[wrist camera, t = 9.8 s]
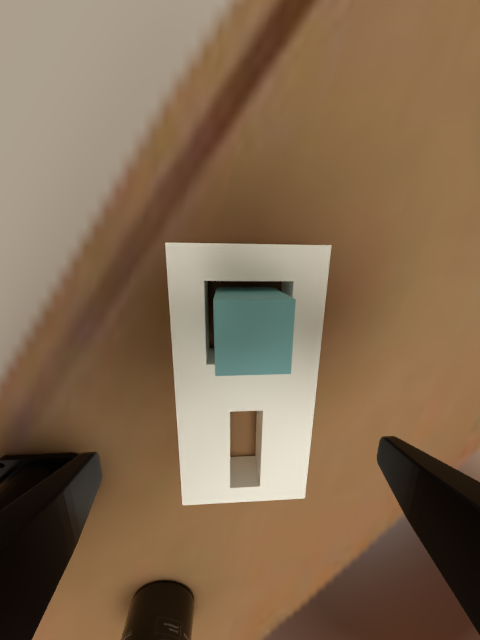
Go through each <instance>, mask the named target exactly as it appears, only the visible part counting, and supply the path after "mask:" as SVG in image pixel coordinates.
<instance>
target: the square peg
mask: <svg viewBox="0 0 480 640" xmlns="http://www.w3.org/2000/svg"><path fill="white" fill-rule="evenodd" d="M295 303H296V299H294V298H292V297H291V296H289V295H287V294H285V293H283V292H281V291H279V290H277V289H275V288H274V287H217V289H216V292H215V296H214V299H213V310H214V350H215V376H236V375H272V374H291V365H292V349H293V334H294V319H295Z"/></svg>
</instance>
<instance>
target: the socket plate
mask: <svg viewBox="0 0 480 640" xmlns="http://www.w3.org/2000/svg"><path fill="white" fill-rule="evenodd" d="M165 248H166V263H167V278H168V293H169V308H170V323H171V338H172V353H173V368H174V383H175V398H176V413H177V429H178V444H179V459H180V474H181V489H182V504H183V505H196V504H214V503H232V502H249V501H267V500H285V499H303V498H305V492H306V482H307V473H308V463H309V454H310V444H311V435H312V425H313V416H314V406H315V397H316V387H317V378H318V368H319V358H320V349H321V339H322V330H323V320H324V311H325V301H326V292H327V282H328V273H329V263H330V254H331V245H281V244H221V243H165ZM208 281H282V289H281V292H283V293H285V294H287V295H289V296H291V297H292V298H294V299H296V303H295V319H294V334H293V349H292V365H291V374H272V375H236V376H215V350H214V348H209V311H208ZM233 411H257V416H256V446H255V456H238V457H230V412H233Z"/></svg>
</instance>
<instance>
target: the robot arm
mask: <svg viewBox="0 0 480 640" xmlns="http://www.w3.org/2000/svg"><path fill="white" fill-rule="evenodd" d="M377 462H378V465H379V467H380V469H381V471H382V473H383V474H384V476H385V478H386V480H387V482H388V484H389V486H390V488H391V490H392V492H393V493H394V495H395V497H396V499H397V501H398V503H399V505H400V507H401V509H402V510H403V512H404V514H405V516H406V518H407V519H408V521H409V523H410V524H411V526H412V527H413V529H414V531H415V533H416V534H417V536H418V537H419V539H420V541H421V542H422V544H423V545H424V547H425V549H426V550H427V552H428V553H429V555H430V557H431V558H432V560H433V561H434V563H435V565H436V566H437V568H438V569H439V571H440V572H441V574H442V576H443V577H444V579H445V581H446V582H447V584H448V585H449V587H450V589H451V590H452V592H453V593H454V595H455V597H456V598H457V600H458V601H459V603H460V604H461V606H462V608H463V609H464V611H465V613H466V614H467V616H468V617H469V619H470V621H471V622H472V624H473V625H474V627H475V628H476V630H477V632H478V633H479V635H480V482H478V481H477V480H474V479H473V478H471V477H469V476H467V475H465V474H463V473H462V472H460V471H458V470H456V469H454V468H452V467H451V466H449V465H447V464H445V463H443V462H441V461H440V460H438V459H436V458H434V457H432V456H430V455H428V454H427V453H425V452H423V451H421V450H419V449H417V448H415V447H414V446H412V445H410V444H408V443H406V442H404V441H402V440H401V439H399V438H397V437H394V436H384V437H381V439H380V441H379V447H378V453H377ZM101 480H102V469H101V464H100V458H99V454H98V453H97V452H84V453H81V454H80V455H78V456H77V455H76V454H54V455H29V456H5V457H1V458H0V640H32V638H33V636H34V634H35V632H36V629H37V627H38V625H39V623H40V621H41V619H42V617H43V615H44V613H45V611H46V609H47V606H48V604H49V602H50V600H51V598H52V596H53V594H54V592H55V590H56V588H57V585H58V583H59V581H60V579H61V577H62V575H63V573H64V571H65V569H66V567H67V565H68V562H69V560H70V558H71V556H72V554H73V552H74V549H75V547H76V545H77V543H78V540H79V538H80V535H81V533H82V530H83V527H84V525H85V522H86V520H87V517H88V514H89V512H90V509H91V507H92V504H93V501H94V499H95V496H96V494H97V491H98V488H99V486H100V483H101Z"/></svg>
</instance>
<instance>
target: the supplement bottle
mask: <svg viewBox="0 0 480 640" xmlns="http://www.w3.org/2000/svg"><path fill="white" fill-rule="evenodd" d="M193 613H194V602H193V598H192V596H191V594H190V592H189V591H188V590H187V589H186V588H185V587H183V586H181V585H179V584H177V583H173V582H156V583H152V584H150V585H147V586H145V587H144V588H143V589H141V590H140V591H139V592H138V593H137V594H136V596H135V597H134V599H133V601H132V604H131V607H130V610H129V613H128V617H127V620H126V624H125V627H124V631H123V634H122V638H121V640H191V635H192V625H193Z"/></svg>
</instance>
